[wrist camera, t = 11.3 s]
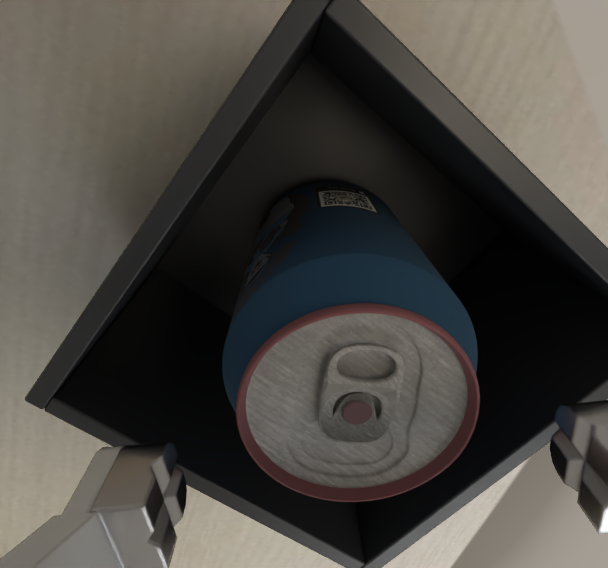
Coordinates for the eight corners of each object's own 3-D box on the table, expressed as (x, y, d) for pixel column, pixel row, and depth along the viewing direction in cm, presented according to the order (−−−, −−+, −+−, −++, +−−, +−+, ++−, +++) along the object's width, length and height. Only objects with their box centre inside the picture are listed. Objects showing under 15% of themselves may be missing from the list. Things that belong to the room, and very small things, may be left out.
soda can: (382, 316, 23) (461, 528, 12) (250, 303, 22) (205, 510, 11) (412, 184, 20) (552, 301, 9) (261, 166, 19) (213, 265, 8)
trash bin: (145, 262, 22) (22, 401, 12) (307, 30, 18) (319, -41, 8) (340, 391, 26) (367, 579, 16) (512, 222, 21) (695, 334, 12)
